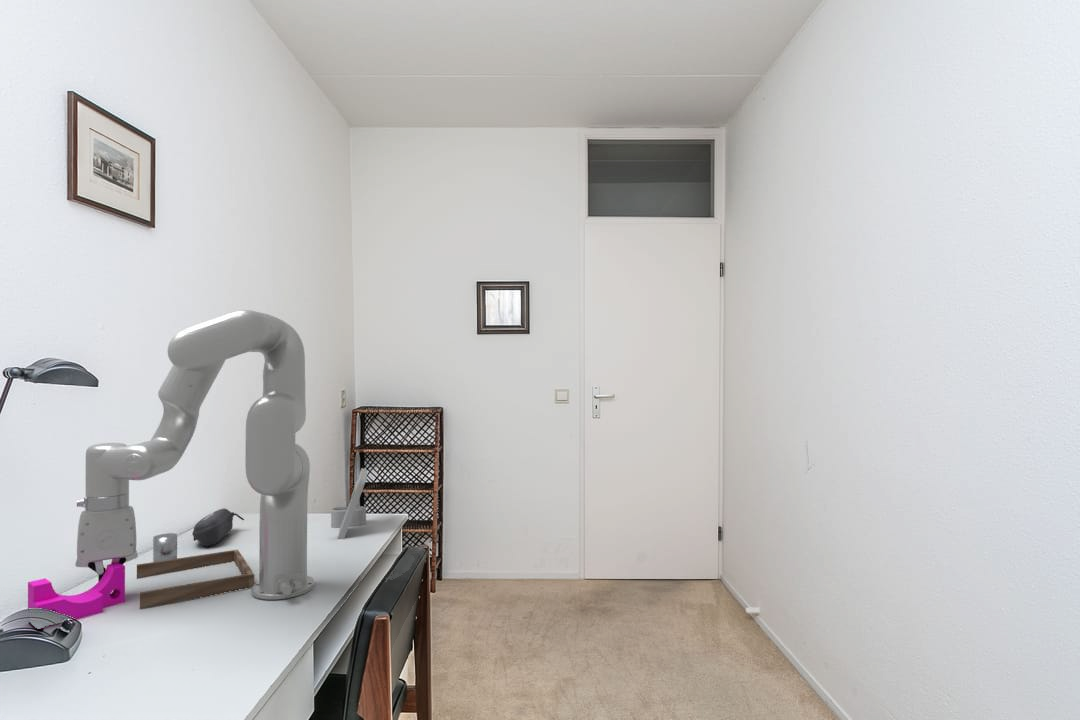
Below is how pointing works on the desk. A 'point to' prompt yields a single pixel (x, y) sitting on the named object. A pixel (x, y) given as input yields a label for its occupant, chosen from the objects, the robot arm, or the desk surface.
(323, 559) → the desk surface
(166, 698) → the desk surface
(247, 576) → the bay
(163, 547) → the metal peg
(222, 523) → the glasses case
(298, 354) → the robot arm
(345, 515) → the phone holder
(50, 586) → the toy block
